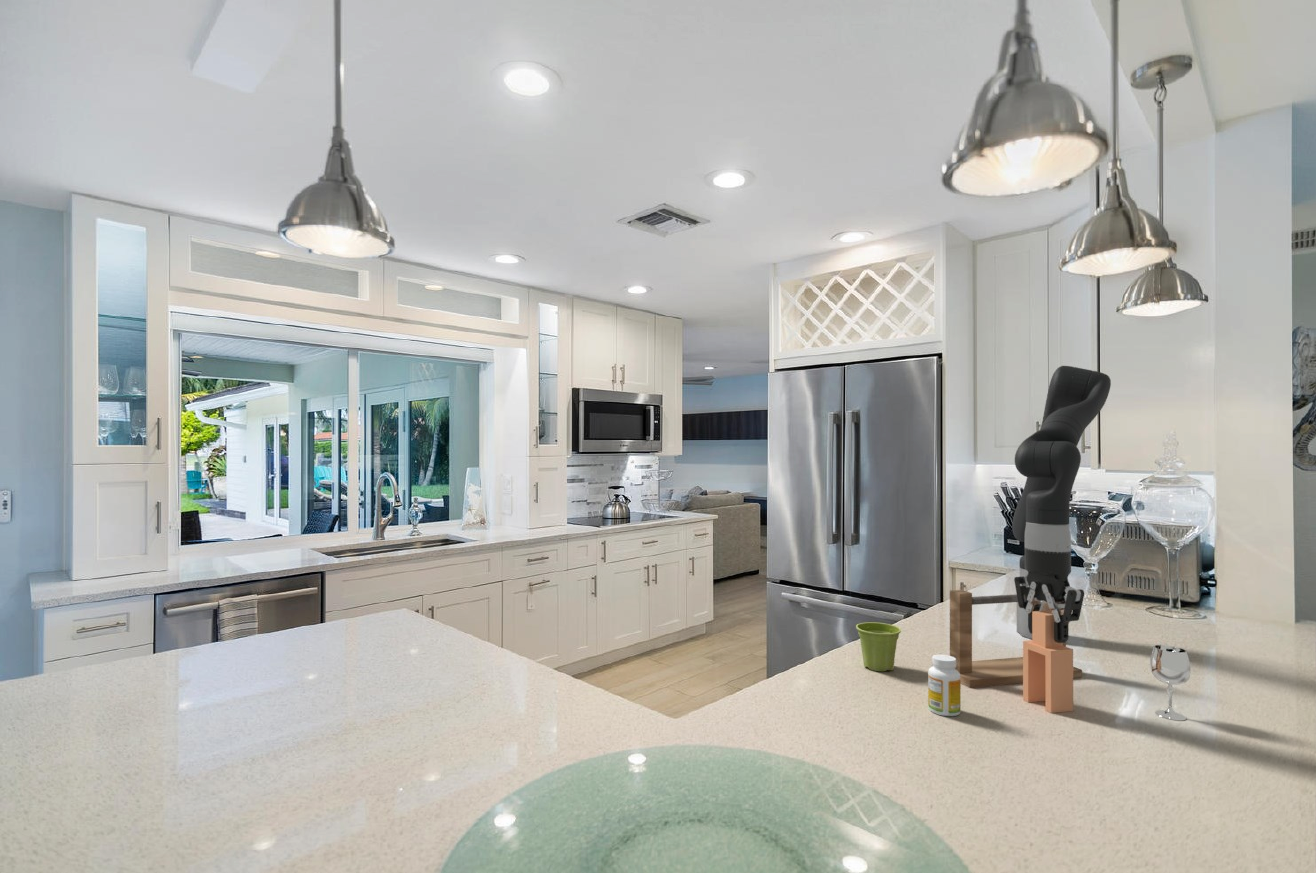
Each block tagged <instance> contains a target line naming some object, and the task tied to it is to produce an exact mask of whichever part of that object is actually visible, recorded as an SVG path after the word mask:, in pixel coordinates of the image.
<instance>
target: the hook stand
mask: <svg viewBox="0 0 1316 873" xmlns="http://www.w3.org/2000/svg"><path fill="white" fill-rule="evenodd" d="M1024 601H1025V602H1026V597H1025V595H1024ZM1017 602H1018V599H1017V593H1015V594H1001V595H1000V594H999V595H997V594H996V595H983V596H982V595H981V596H980V595H979V596H973V593H972V592H970V591H966V590H963V589H953V590H949V656H952V657H954V658H956V668H955V669H956V670H957V671H958V672H959V673H960V678H961V684H962V685H963V686H965V687H968V688H969V689H970V688H972V689H973V688H980V687H991V686H1000V685H1001V686H1002V685H1010V684H1011V685H1012V684H1023V656H1020V657H1019V656H1017V657H1008V658H1007V657H1005V658H994V659H984V660H983V659H982V660H973V605H975V606H976V605H989V604H990V605H991V604H992V605H993V604H1007V603H1010V604H1011V603H1017ZM1056 604H1060V602H1059V603H1056ZM1049 610H1050V611H1052V610H1051V609H1049V606H1048V603H1047V602H1046V603H1045V604H1043V611H1049ZM1059 611H1060V614H1062V613H1061V610H1060V609H1059ZM1063 646H1065V647H1067V641H1066V642H1065V643H1063ZM1075 678H1083V670H1082V669H1081V668H1079V667H1076V666H1073V679H1075Z"/></svg>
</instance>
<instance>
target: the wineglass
mask: <svg viewBox="0 0 1316 873" xmlns="http://www.w3.org/2000/svg"><path fill="white" fill-rule="evenodd" d="M1149 666H1150V671H1151V673H1152V676H1154V677H1155V678H1156V679H1157V680H1159V681H1160V682H1162V683H1164V684H1166V685H1167V687H1166V692H1167V697H1168V706H1167V708H1166V709H1157V710H1154V714H1155V715H1156V716H1159V717H1161V718H1164V719H1167V720H1172V721H1185V720H1187V717H1186V716H1185V715H1183V714H1182V713H1179V712H1176V711H1175V710H1174V709H1173V694H1174V693H1175V692H1174V691H1175V690H1174V687H1173V686H1179V685H1183V684H1186V683H1188V681H1189V679H1190V678H1191V674H1192V673H1191V672H1192V671H1191V670H1192V669H1191V663H1190V658H1189V654H1188V652H1187V650H1186V649H1184V648H1183V647H1182V648H1181V647H1178V646H1173V645H1169V644H1168V645H1167V644H1166V645H1165V644H1155V645H1154V646H1153V648H1152V652H1151V655H1150V661H1149Z"/></svg>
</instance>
